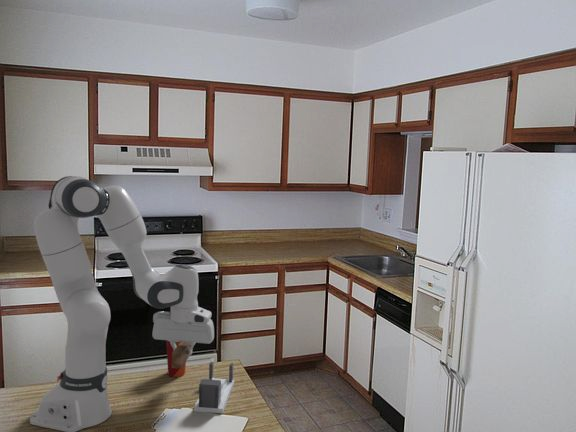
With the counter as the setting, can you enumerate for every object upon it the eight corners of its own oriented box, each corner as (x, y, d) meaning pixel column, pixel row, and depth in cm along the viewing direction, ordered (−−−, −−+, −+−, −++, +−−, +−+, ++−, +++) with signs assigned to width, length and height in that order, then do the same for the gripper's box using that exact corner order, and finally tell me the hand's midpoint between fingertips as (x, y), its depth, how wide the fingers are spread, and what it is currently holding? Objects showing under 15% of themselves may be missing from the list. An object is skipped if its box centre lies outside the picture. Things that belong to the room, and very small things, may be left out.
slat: (171, 367, 158) (172, 352, 158) (184, 351, 172) (184, 337, 171) (180, 368, 158) (181, 353, 157) (192, 352, 172) (193, 338, 171)
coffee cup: (185, 378, 175) (186, 338, 173) (162, 378, 175) (162, 337, 173) (190, 368, 183) (190, 329, 181) (168, 368, 183) (168, 329, 181)
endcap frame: (193, 411, 153) (194, 383, 152) (208, 382, 173) (209, 357, 172) (222, 413, 153) (223, 385, 151) (234, 383, 172) (234, 359, 171)
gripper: (150, 313, 161) (148, 354, 162) (211, 318, 159) (210, 359, 161) (156, 308, 167) (155, 347, 168) (216, 312, 166) (214, 352, 167)
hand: (182, 353), depth 165 cm, fingers closed on slat, 3 cm apart
